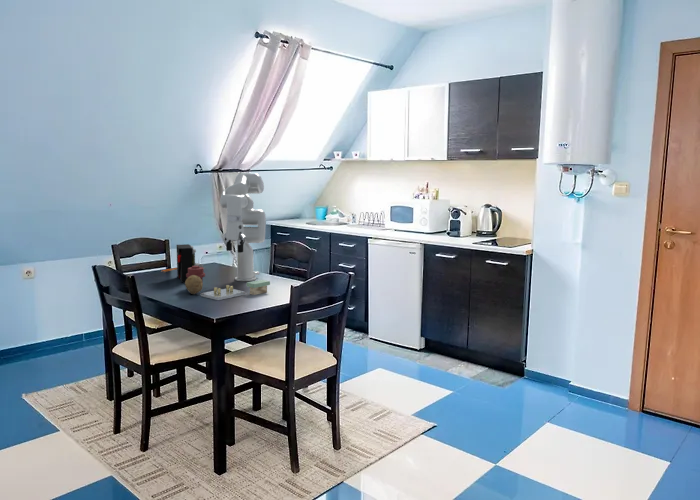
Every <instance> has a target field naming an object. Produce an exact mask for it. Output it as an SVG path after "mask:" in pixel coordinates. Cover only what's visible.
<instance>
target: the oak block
mask: <svg viewBox="0 0 700 500" xmlns="http://www.w3.org/2000/svg"><path fill="white" fill-rule="evenodd" d="M265 293H268V285H267V286H262V287H257V288H252V287H249V294H250V295H253V296H255V295H260V294H265Z"/></svg>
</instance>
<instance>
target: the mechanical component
mask: <svg viewBox="0 0 700 500" xmlns="http://www.w3.org/2000/svg"><path fill="white" fill-rule="evenodd" d="M204 268H205V267H204ZM204 268H203V267H199V266H192V267H190V268H188V273H187V274H186V277H187V278H188V277H190V276H192V275H196V276H198V277H200V278H201V280H202V283H203V282H204V281H203V280H204V279H203V278H205V277H206V273H205V271H204V270H205V269H204ZM203 285H204V283H203V284H202V286H203Z"/></svg>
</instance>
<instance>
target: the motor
mask: <svg viewBox="0 0 700 500" xmlns="http://www.w3.org/2000/svg"><path fill="white" fill-rule="evenodd" d="M195 266H199V267H203V268H204V270H206V267H204V264H203V263H197V262H195ZM175 270H177V267H174V268H168V269H164V270H162V272H165V273H166V272H170V271H175Z"/></svg>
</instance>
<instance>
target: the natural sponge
mask: <svg viewBox="0 0 700 500" xmlns="http://www.w3.org/2000/svg"><path fill="white" fill-rule="evenodd" d="M202 284H203V285H204V283H202V280H201V278H200V277H198V276H196V275H192V276H190V277H188V278H187V279H186V281H185V283H184V285H185V288H186V290H187V291H188V292H189V293H190V294H192V295H196V294H198V293H200V292H201V291H202V290H203V285H202Z"/></svg>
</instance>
